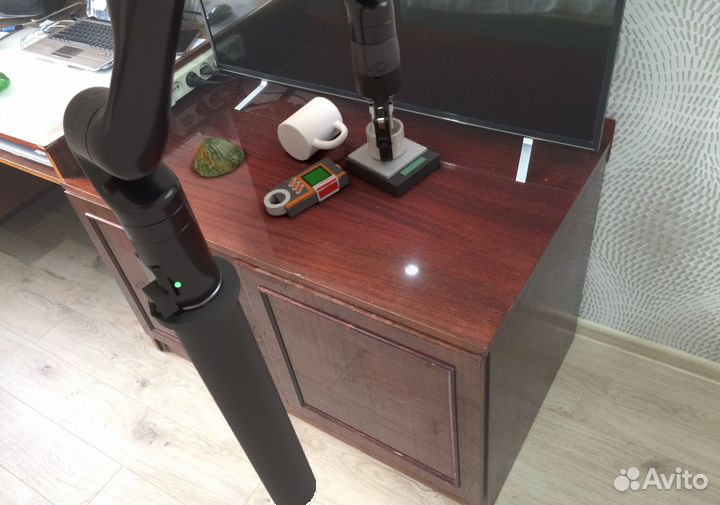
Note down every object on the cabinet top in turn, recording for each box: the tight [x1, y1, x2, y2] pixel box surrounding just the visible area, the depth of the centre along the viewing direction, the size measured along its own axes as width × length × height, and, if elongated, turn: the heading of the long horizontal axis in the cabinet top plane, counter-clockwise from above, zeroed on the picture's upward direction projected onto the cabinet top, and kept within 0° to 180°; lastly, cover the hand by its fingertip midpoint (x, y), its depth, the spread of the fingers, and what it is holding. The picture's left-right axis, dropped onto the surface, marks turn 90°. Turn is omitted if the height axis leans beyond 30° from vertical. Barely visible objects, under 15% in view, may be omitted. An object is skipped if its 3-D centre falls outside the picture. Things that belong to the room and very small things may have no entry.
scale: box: [344, 137, 441, 198], centre depth 106 cm, size 11×13×3 cm
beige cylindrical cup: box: [365, 117, 405, 160], centre depth 104 cm, size 6×6×5 cm
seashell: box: [192, 136, 245, 178], centre depth 114 cm, size 10×4×10 cm
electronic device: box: [263, 156, 350, 218], centre depth 104 cm, size 7×3×15 cm
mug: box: [277, 96, 349, 161], centre depth 111 cm, size 12×10×8 cm
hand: (386, 147), depth 105 cm, fingers closed on beige cylindrical cup, 6 cm apart
